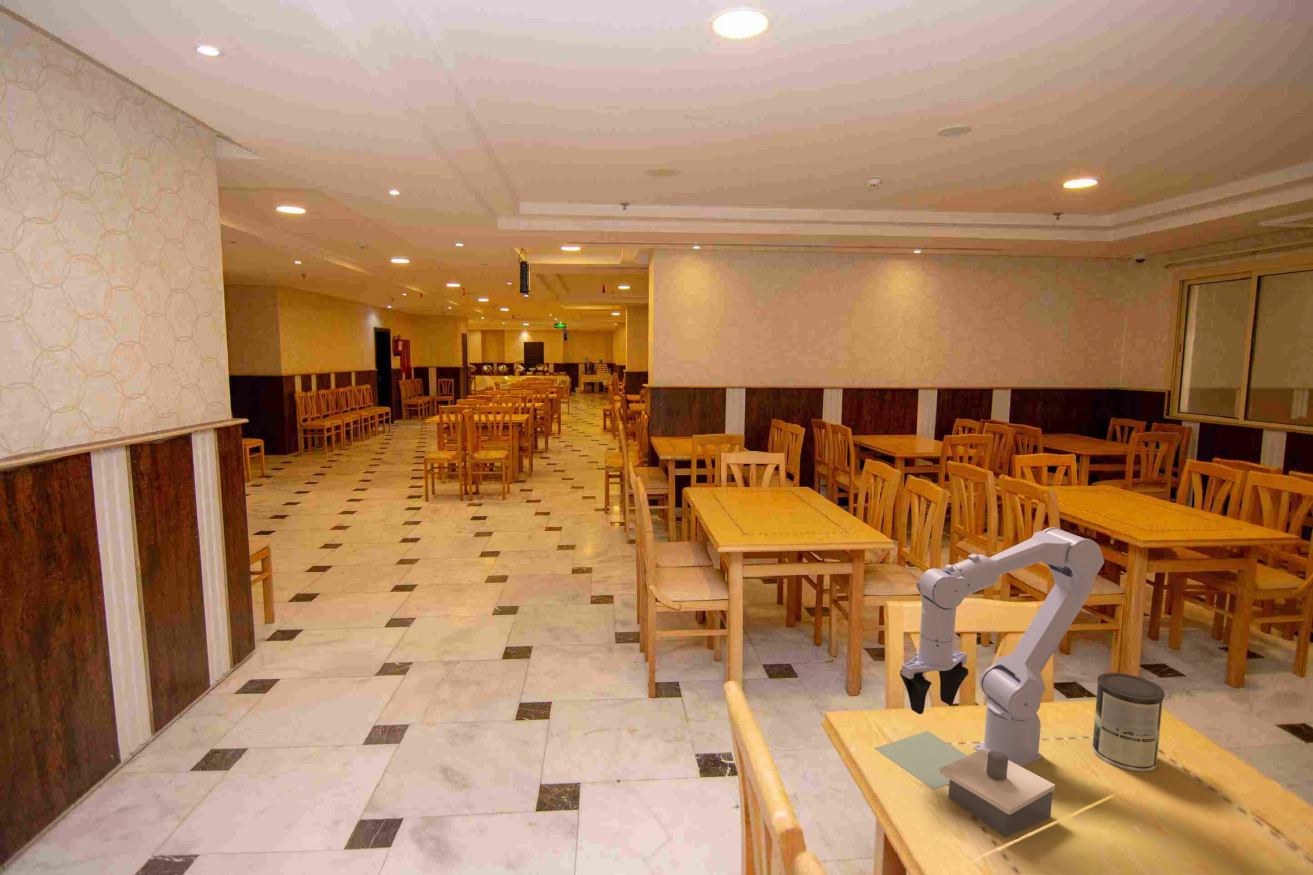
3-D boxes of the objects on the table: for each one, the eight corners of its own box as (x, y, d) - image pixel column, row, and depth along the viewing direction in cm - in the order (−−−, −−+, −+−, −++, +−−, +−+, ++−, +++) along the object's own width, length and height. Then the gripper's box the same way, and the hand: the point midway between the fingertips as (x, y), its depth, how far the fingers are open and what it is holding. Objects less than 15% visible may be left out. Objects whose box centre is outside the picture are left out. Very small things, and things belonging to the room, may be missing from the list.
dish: (991, 782, 121) (993, 757, 121) (1050, 819, 112) (1052, 792, 111) (948, 799, 117) (949, 774, 116) (1005, 839, 107) (1007, 812, 106)
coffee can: (1079, 741, 135) (1085, 672, 133) (1131, 740, 135) (1137, 671, 133) (1115, 772, 125) (1122, 698, 123) (1171, 772, 125) (1179, 698, 123)
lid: (984, 751, 123) (986, 728, 122) (1054, 789, 112) (1056, 764, 112) (939, 773, 116) (941, 748, 116) (1009, 814, 106) (1011, 788, 105)
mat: (927, 732, 137) (927, 730, 137) (988, 770, 125) (989, 768, 125) (874, 750, 131) (874, 748, 131) (933, 791, 119) (933, 789, 119)
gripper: (947, 622, 132) (942, 689, 133) (890, 634, 125) (886, 705, 127) (978, 635, 126) (973, 706, 127) (921, 649, 119) (916, 723, 121)
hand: (931, 707), depth 127 cm, fingers open, 7 cm apart
